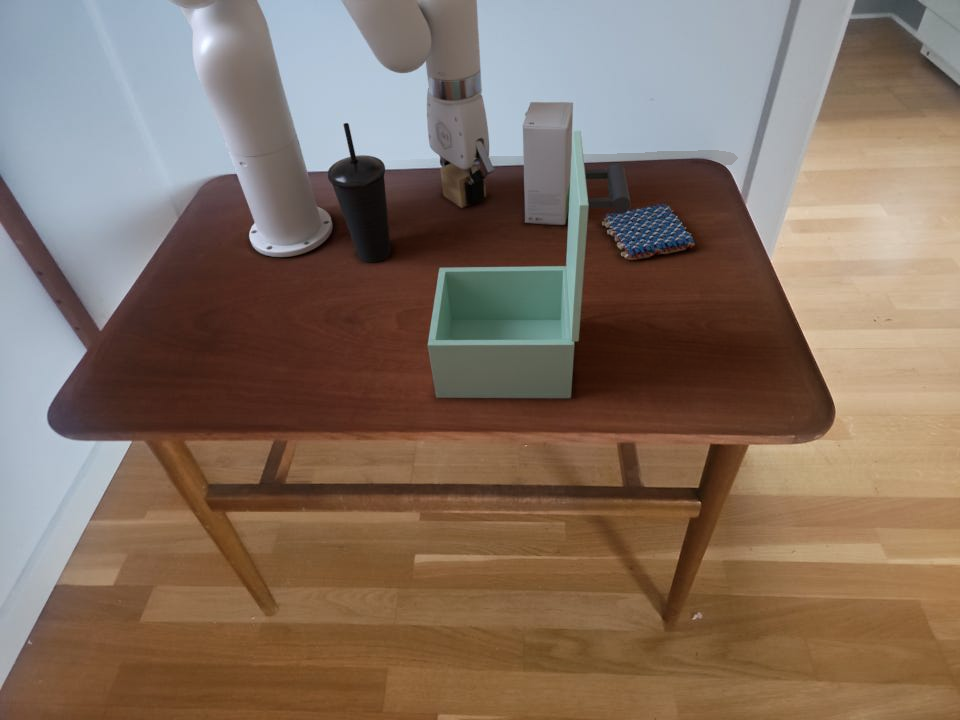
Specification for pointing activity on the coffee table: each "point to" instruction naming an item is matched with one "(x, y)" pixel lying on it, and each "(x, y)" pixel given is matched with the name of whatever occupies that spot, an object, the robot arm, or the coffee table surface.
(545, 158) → the cosmetic box
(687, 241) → the woven mat
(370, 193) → the drinking cup
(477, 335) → the compartment
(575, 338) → the compartment lid
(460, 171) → the maple block
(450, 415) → the coffee table surface
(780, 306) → the coffee table surface
